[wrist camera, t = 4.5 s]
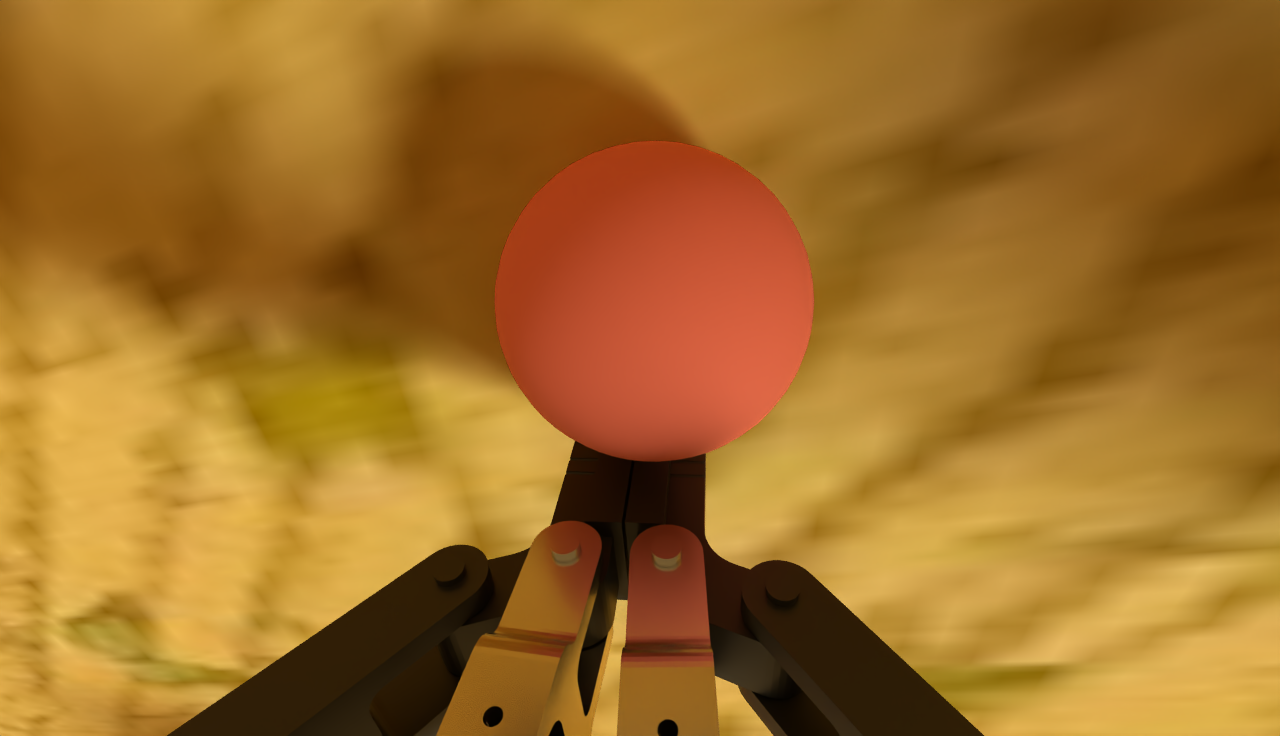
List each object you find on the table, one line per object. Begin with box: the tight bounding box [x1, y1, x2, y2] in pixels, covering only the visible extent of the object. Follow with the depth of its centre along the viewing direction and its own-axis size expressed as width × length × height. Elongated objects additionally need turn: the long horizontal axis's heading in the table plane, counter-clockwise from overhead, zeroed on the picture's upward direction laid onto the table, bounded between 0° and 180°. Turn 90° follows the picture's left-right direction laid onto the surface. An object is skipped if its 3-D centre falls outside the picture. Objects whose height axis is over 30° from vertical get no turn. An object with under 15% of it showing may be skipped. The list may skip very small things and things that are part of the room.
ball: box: [495, 141, 814, 462], centre depth 11 cm, size 6×6×6 cm
